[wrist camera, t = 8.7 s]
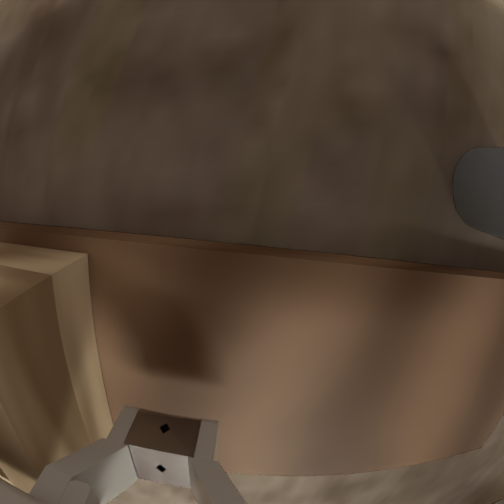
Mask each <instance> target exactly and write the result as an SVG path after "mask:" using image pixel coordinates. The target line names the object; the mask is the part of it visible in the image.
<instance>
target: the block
mask: <svg viewBox="0 0 504 504" xmlns="http://www.w3.org/2000/svg"><path fill="white" fill-rule="evenodd" d="M112 427H113V423H112V419H111V415H110V410H109V406H108V402H107V397H106V393H105V388H104V383H103V378H102V373H101V368H100V362H99V356H98V350H97V344H96V337H95V330H94V322H93V314H92V305H91V295H90V284H89V270H88V254H86V253H78V252H70V251H62V250H55V249H47V248H40V247H33V246H26V245H18V244H11V243H4V242H0V478H2V479H3V480H5V481H7V482H8V483H10V484H12V485H13V486H15V487H17V488H19V489H20V490H22V491H24V492H26V493H28V494H29V493H30V491H31V490H32V488H33V486H34V485H35V483H36V481H37V479H38V478H39V476H40V474H41V473H42V471H43V469H44V468H45V466H46V465H48V464H50V463H53V462H55V461H57V460H59V459H61V458H63V457H65V456H67V455H69V454H72V453H74V452H76V451H78V450H80V449H82V448H84V447H86V446H88V445H90V444H92V443H93V442H95V441H97V440H99V439H101V438H104V439H107V437H108V435H109V433H110V431H111V429H112Z"/></svg>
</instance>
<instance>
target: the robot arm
mask: <svg viewBox="0 0 504 504" xmlns="http://www.w3.org/2000/svg"><path fill="white" fill-rule="evenodd" d="M218 446H219V421H218V420H208V419H201V418H193V417H186V416H179V415H172V414H171V415H170V414H165V413H160V412H156V411H151V410H146V409H142V408H137V407H133V406H129V405H125V406H124V407H123V408H122V410H121V412H120V414H119V416H118V417H117V419H116V421H115V423H114V425H113V427H112V429H111V431H110V433H109V435H108V437H107V439H104V438H101V439H99V440H97V441H95V442H93V443H92V444H90V445H88V446H86V447H84V448H82V449H80V450H78V451H76V452H74V453H72V454H69V455H67V456H65V457H63V458H61V459H59V460H57V461H55V462H53V463H50V464H48V465H46V466H45V468H44V469H43V471H42V473H41V474H40V476H39V478H38V479H37V481H36V483H35V485H34V486H33V488H32V490H31V491H30V493H29V494H28V493H26V492H24V491H22V490H20V489H19V488H17V487H15V486H13V485H12V484H10V483H8V482H7V481H5V480H3V479H2V478H0V504H107V503H108V502H110V501H111V500H112V499H114V498H115V497H116V496H118V495H119V494H120V493H122V492H123V491H124V490H126V489H127V488H128V487H129V486H131V485H132V484H133V483H135V482H136V481H137V480H138V478H139V479H144V480H149V481H154V482H159V483H165V484H169V485H174V486H179V487H184V488H190V489H191V491H192V493H193V495H194V497H195V499H196V501H197V503H198V504H247V503H246V501H245V500H244V498H243V497H242V496H241V494H240V493H239V491H238V490H237V489H236V487H235V486H234V484H233V483H232V481H231V480H230V478H229V477H228V475H227V474H226V473H225V471H224V469H223V468H222V466H221V465H220V463H219V462H218V461H217V459H218ZM494 504H504V499H502V500H500V501H498V502H496V503H494Z"/></svg>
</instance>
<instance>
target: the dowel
mask: <svg viewBox="0 0 504 504" xmlns="http://www.w3.org/2000/svg"><path fill="white" fill-rule="evenodd" d="M453 197H454V202H455V206H456V209H457V211H458V213H459V215H460V217H461V218H462V220H463V221H464V222H465V223H466V224H467V225H469V226H470V227H472V228H474V229H477V230H480V231H482V232H485V233H488V234H490V235H493V236H496V237H498V238H501V239H503V240H504V147H481V148H474V149H471V150H469V151H468V152H466V153H465V154H464V155H463V156H462V158H461V159H460V161H459V163H458V165H457V167H456V170H455V173H454V179H453Z"/></svg>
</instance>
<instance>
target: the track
mask: <svg viewBox="0 0 504 504" xmlns="http://www.w3.org/2000/svg"><path fill="white" fill-rule="evenodd" d="M0 242H4V243H11V244H18V245H26V246H33V247H40V248H47V249H55V250H62V251H70V252H78V253H86V254H88V270H89V284H90V295H91V305H92V314H93V322H94V330H95V337H96V344H97V350H98V356H99V362H100V368H101V373H102V378H103V383H104V388H105V393H106V397H107V402H108V406H109V410H110V415H111V419H112V423H113V425H114V423H115V421H116V419H117V417H118V416H119V414H120V412H121V410H122V408H123V407H124V406H125V405H129V406H133V407H137V408H142V409H146V410H151V411H156V412H160V413H165V414H170V415H171V414H172V415H179V416H186V417H193V418H201V419H208V420H218V421H219V446H218V459H217V461H218V462H219V463H220V465H221V466H222V468H223V469H224V471H225V473H235V474H248V475H265V476H323V475H341V474H353V473H363V472H372V471H380V470H387V469H393V468H399V467H405V466H411V465H416V464H421V463H426V462H430V461H435V460H439V459H443V458H447V457H451V456H455V455H458V454H462V453H465V452H469V451H472V450H475V449H479V448H481V447H482V446H483V444H484V443H485V441H486V440H487V438H488V437H489V436H490V434H491V433H492V431H493V430H494V428H495V426H496V425H497V423H498V422H499V420H500V419H501V417H502V415H503V414H504V273H503V272H494V271H486V270H477V269H468V268H459V267H450V266H441V265H432V264H423V263H414V262H405V261H396V260H387V259H378V258H368V257H359V256H350V255H340V254H331V253H321V252H312V251H302V250H292V249H283V248H273V247H263V246H253V245H244V244H234V243H224V242H214V241H204V240H193V239H183V238H173V237H163V236H152V235H142V234H132V233H121V232H110V231H100V230H89V229H78V228H67V227H56V226H45V225H34V224H23V223H12V222H0Z"/></svg>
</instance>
